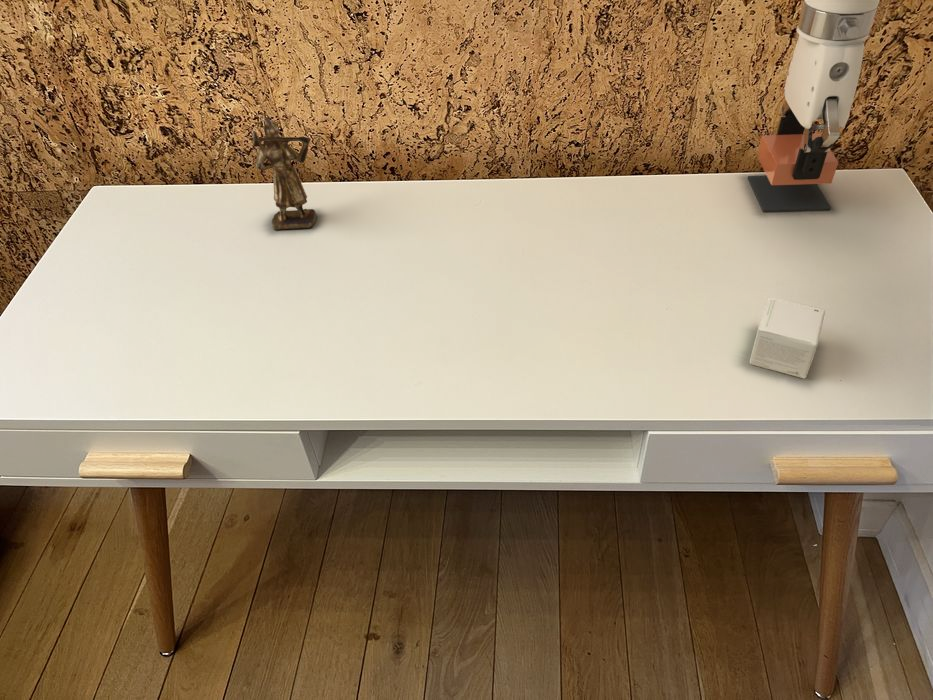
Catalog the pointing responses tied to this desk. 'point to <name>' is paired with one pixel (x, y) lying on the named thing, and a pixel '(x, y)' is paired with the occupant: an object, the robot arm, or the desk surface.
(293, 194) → the figurine
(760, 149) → the orange flat block
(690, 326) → the desk surface
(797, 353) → the small box
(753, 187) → the mat
